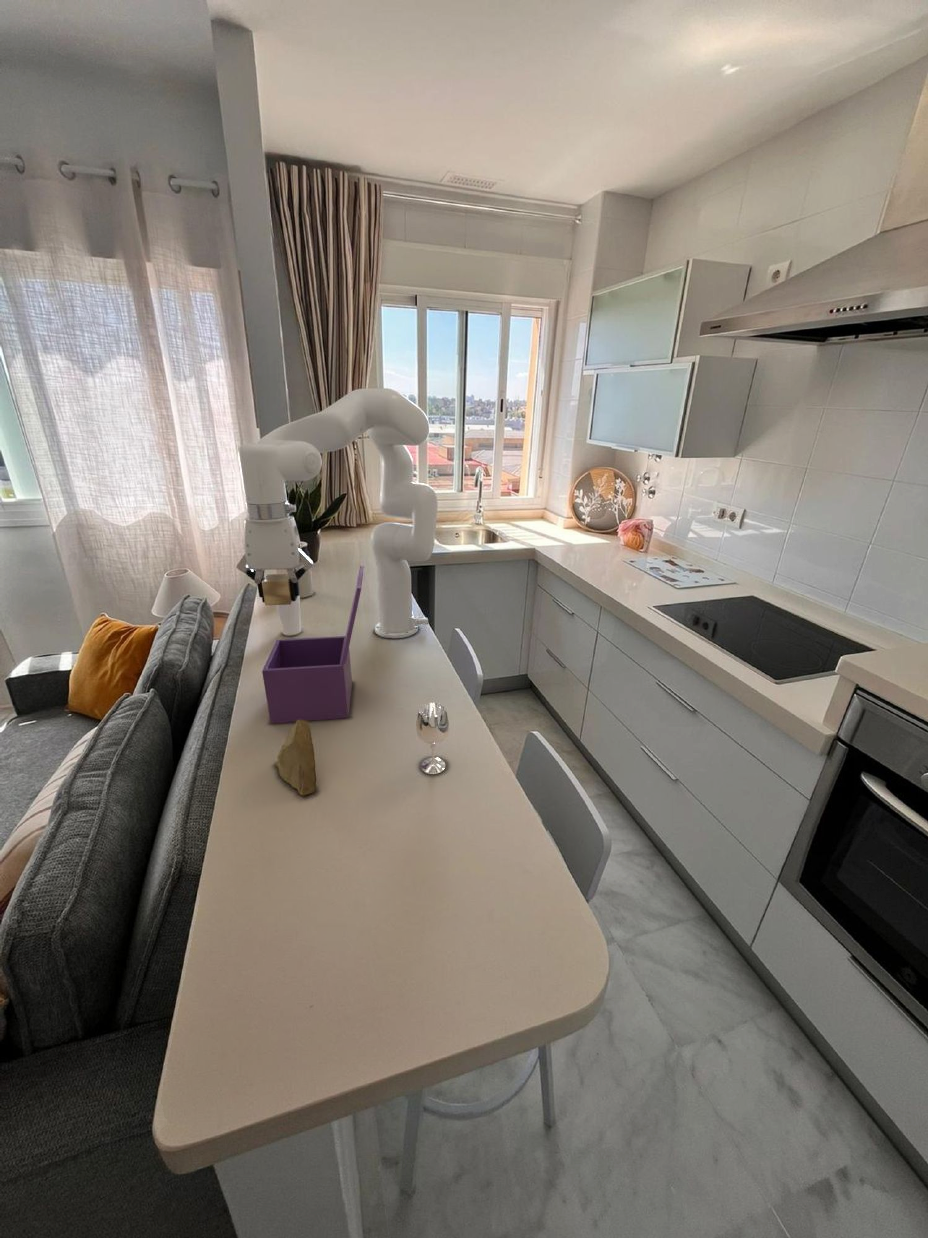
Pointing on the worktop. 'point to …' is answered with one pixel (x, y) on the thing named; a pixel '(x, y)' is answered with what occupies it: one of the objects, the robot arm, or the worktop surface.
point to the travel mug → (305, 576)
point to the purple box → (307, 680)
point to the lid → (352, 614)
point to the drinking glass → (290, 617)
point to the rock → (298, 759)
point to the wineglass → (432, 733)
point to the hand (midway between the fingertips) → (280, 598)
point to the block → (277, 589)
